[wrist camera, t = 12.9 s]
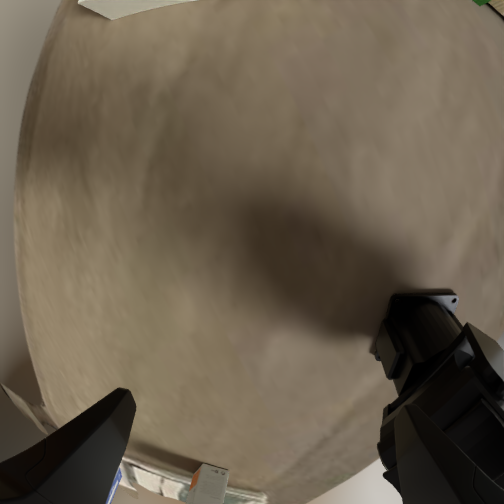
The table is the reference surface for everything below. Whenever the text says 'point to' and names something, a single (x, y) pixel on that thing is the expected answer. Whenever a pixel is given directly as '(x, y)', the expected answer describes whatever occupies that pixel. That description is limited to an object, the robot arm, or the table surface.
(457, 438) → the robot arm
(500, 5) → the hardback book
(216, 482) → the skincare box
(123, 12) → the base
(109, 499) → the blue product carton
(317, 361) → the table surface
